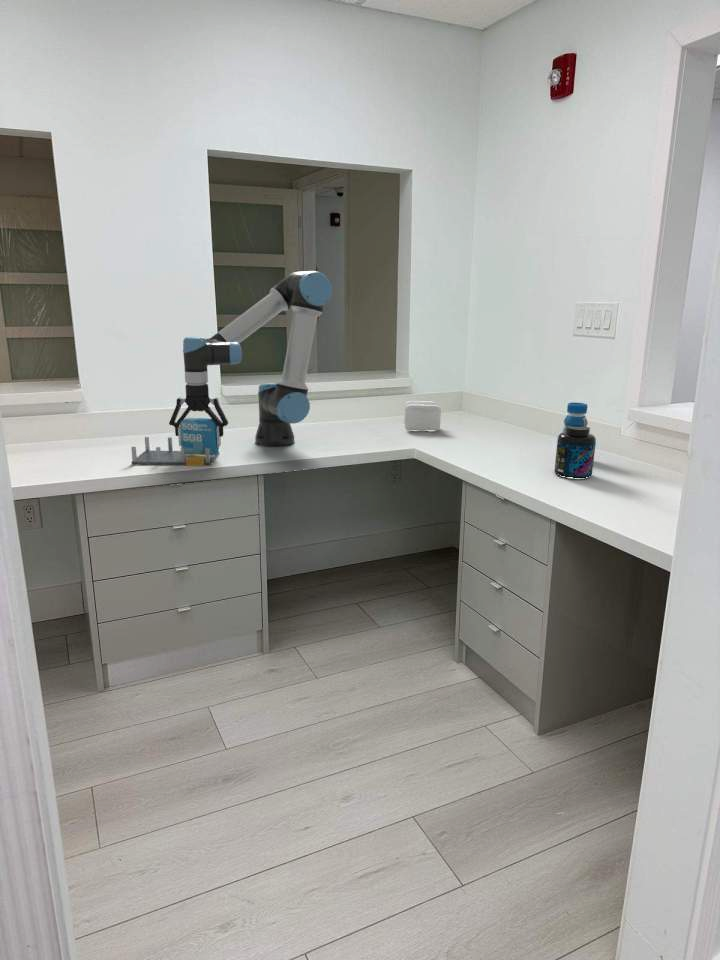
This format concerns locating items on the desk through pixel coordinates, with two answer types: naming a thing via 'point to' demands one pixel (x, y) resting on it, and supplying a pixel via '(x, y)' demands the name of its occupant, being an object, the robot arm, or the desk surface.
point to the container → (575, 452)
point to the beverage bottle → (575, 415)
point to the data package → (198, 435)
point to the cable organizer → (422, 415)
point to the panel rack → (171, 456)
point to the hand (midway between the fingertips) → (200, 445)
